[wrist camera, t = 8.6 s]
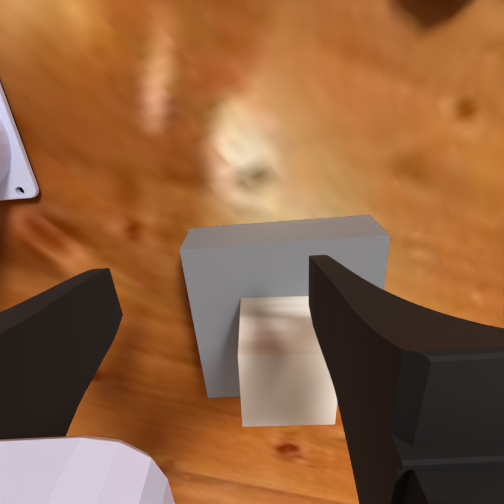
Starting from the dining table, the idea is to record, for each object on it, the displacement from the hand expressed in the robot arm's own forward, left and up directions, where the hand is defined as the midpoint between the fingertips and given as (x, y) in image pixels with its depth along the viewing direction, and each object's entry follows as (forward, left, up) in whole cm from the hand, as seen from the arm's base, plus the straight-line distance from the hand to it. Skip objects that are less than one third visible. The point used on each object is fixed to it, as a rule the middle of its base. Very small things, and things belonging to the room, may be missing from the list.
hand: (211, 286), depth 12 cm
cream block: (+3, -8, -7) cm, 11 cm away
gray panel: (+3, -8, -11) cm, 14 cm away
